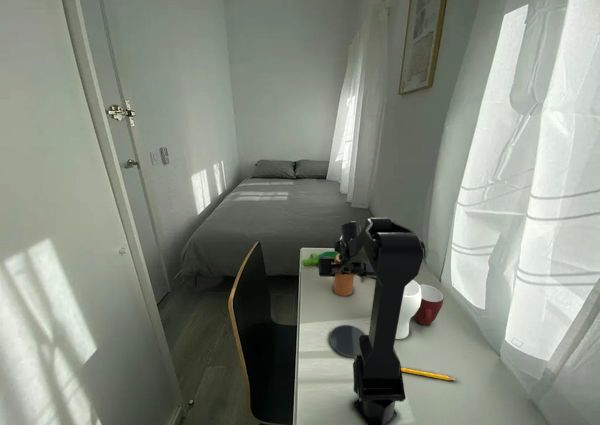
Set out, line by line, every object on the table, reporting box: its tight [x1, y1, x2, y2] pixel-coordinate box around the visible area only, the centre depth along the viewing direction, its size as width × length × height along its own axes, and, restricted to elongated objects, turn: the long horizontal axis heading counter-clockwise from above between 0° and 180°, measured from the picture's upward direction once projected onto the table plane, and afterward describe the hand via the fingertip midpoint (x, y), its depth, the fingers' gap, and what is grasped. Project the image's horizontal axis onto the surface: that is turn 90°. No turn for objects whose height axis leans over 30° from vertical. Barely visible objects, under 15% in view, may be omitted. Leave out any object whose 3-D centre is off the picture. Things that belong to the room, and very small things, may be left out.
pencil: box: [401, 367, 456, 381], centre depth 59 cm, size 1×13×1 cm
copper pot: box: [333, 254, 355, 297], centre depth 89 cm, size 10×7×13 cm
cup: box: [395, 279, 421, 340], centre depth 70 cm, size 11×11×15 cm
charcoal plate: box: [329, 324, 366, 358], centre depth 68 cm, size 10×10×1 cm
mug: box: [413, 283, 445, 327], centre depth 73 cm, size 11×8×10 cm
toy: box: [301, 250, 339, 268], centre depth 107 cm, size 9×18×5 cm, turn 134°
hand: (343, 271), depth 89 cm, fingers closed on copper pot, 6 cm apart
